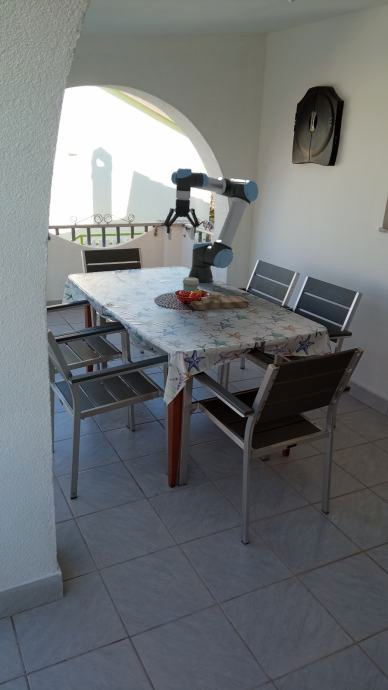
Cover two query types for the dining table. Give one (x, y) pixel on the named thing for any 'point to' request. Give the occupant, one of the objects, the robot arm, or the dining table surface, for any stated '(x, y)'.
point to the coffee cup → (190, 284)
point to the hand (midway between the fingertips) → (180, 239)
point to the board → (220, 303)
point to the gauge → (213, 297)
